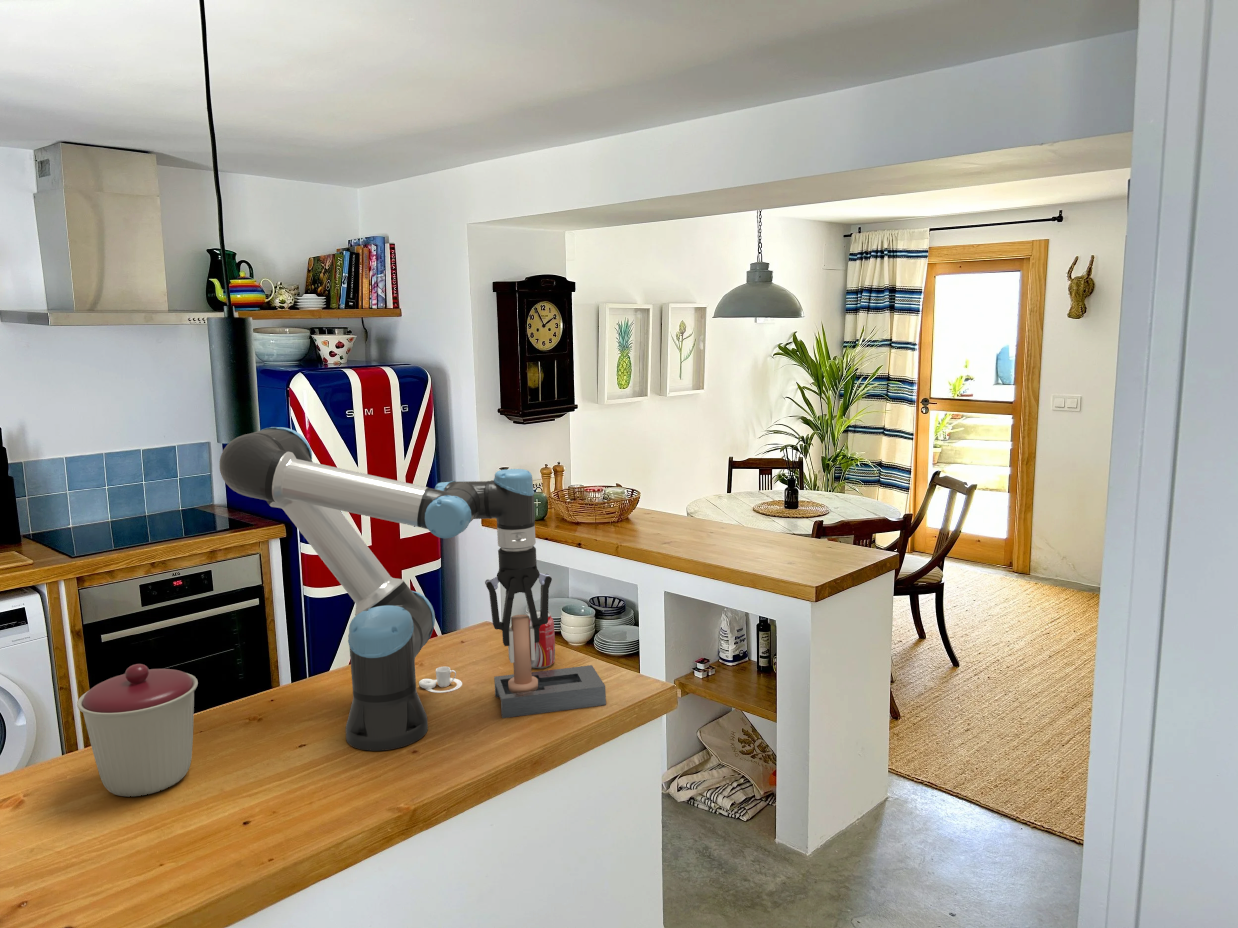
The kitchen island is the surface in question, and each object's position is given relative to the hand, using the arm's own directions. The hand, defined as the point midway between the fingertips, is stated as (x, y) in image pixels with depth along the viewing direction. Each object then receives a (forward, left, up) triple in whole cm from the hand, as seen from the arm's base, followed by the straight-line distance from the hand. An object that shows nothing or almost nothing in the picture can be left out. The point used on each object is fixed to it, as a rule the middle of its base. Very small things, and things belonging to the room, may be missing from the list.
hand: (522, 658), depth 182 cm
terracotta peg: (0, 0, -6) cm, 6 cm away
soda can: (+7, +20, -10) cm, 23 cm away
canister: (-67, -13, -10) cm, 69 cm away
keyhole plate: (+6, 0, -9) cm, 11 cm away
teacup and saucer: (-16, +17, -10) cm, 26 cm away
